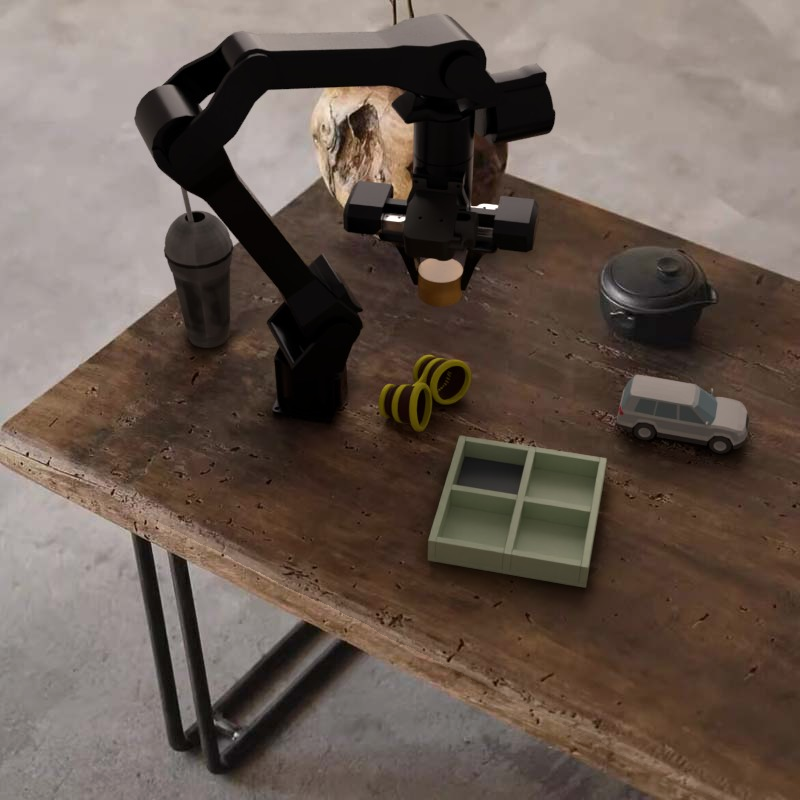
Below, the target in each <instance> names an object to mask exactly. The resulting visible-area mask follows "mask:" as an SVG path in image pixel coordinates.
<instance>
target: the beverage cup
mask: <svg viewBox="0 0 800 800" xmlns="http://www.w3.org/2000/svg"><path fill="white" fill-rule="evenodd" d="M180 190H181V194H182V199H183V204H184V207H185V212H184V213H182V214H180V215H179V216H177V217H176V218H175V219H174V220H173V221H172V222H171V224H170V225H169V228H168V230H167V232H166V235H165V237H164V249H163V253H164V254H163V255H164V257H165V259H166V261H167V262H166V263H167V265H168V268H169V271H170V272H171V273H172V277H173V281H174V285H175V289H176V292H177V293H176V294H177V299H178V302H179V306H180V310H181V314H182V318H183V322H184V326H185V330H186V332H187V336H188V340H189V341H190V343H191V344H192V345H194V346H196V347H199V348H203V349H211V348H216V347H219V346H221V345H223V344H225V343H226V342H227V341H228V340H229V337H230V325H231V266H232V259H233V251H234V244H233V240H232V238H231V234H230V231H229V229H228V228H227V227H226V225H225V224H224V223H223V222H222V220H221V219H220V218H219V217H218V216H217V215H214V214H212V213H211V212H208V211H205V210H192V207H191V203H190V198H189V194H188V191H186V190H185V189H183V188H182V187H181V186H180Z"/></svg>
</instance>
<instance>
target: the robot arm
mask: <svg viewBox="0 0 800 800" xmlns="http://www.w3.org/2000/svg"><path fill="white" fill-rule="evenodd" d="M487 61H488V58H487V54H486V51H485V49H484V48H483V46H482V45H481V44H480V43H479V42H478V41H477V40H476V39H475V38H474V37H473V36H472V34H470V33H469V32H468V31H467V30H466V29H465V28H464V27H463V26H462V25H461V24H460V23H459V22H458V21H456V19H454V18H453V17H452V16H450V15H448V14H447V13H446V14H445V13H432V14H426V15H421V16H417V17H411V18H406V19H402V20H401V21H400V22H398V23H396V24H394V25H392V26H391V27H389V28H386V29H381V30H376V31H336V32H293V33H291V32H289V33H286V32H285V33H284V32H283V33H254V32H251V31H245V30H240V31H239V30H238V31H235V32H233V33H231V34H229V35H228V36H227V37H225V38H224V39H223V40H222V41H221V42H220V43H219V44H218V45H217V46H216V47H215V48H214V49H213V50H212V51H210V52H207V53H206V54H204V55H201V56H199V57H198V58H196V59H194V60H191V61H189V62H187V63H186V64H184V65H182V66H181V67H179V68H178V70H176V71H175V72H174V73H173V74H172V75H171V76H170V77H169V78H168V79H166V81H165V82H164V83H163V84H162V85H159V86H156V87H154V88H152V89H150V90H149V91H148V92H146V94H144V95H143V96H142V98H140V101H139V103H138V104H137V106H136V108H135V114H134V120H133V121H134V124H135V126H136V128H137V130H138V132H139V134H140V136H141V138H142V140H143V141H144V144H145V145H146V147H147V149H148V152H149V153H150V155H151V157H152V159H153V160H154V161H153V162H154V163H155V165H156V166H157V168H158V169H159V170H160V171H161V172H163V174H165V176H167V177H168V178H169V179H171V180H172V181H174V183H176V184H177V185H178V186H180V188H181V187H182V188H183V189H185V190H186V191H187V193H189V194H192V195H194V196H195V197H197V198H199V199H201V200H203V201H204V202H205V203H206V204H207V205H208V206H209V207H210V208H211V210H212V211H213V212H214V214H215V215H216V217H217V218H219V219H220V220H221V222H222V223H223V224H224V225H225V226H226V228H227V230H228V231H229V232H230V233H231V234H232V235H233V236H234V238H235V239H236V240H237V241H238V243H240V245H241V246H242V247H243V248H244V250H245V251H246V252H247V253H248V254H249V256H250V257H251V258H252V259H253V260H254V262H255V263H256V264H257V265H258V267H259V268H260V269H261V270H262V271H263V273H264V274H265V275H266V276H267V277H268V278H269V280H270V281H271V282H272V283H273V285H274V286H275V287H276V288H277V290H278V291H279V294H280V296H281V298H282V300H283V302H282V303H281V304H280V305H279V306H278V308H277V309H276V310H275V311H274V312H273V313H272V315H270V317H269V318H268V319H267V320H266V325H267V327H268V329H269V330H270V332H271V334H272V336H273V338H274V340H275V341H276V343H277V345H278V349H277V350H276V353H275V354H274V356H273V364H274V376H275V388H276V399H275V401H274V403H273V405H272V407H271V411H272V414H273V415H277V416H283V417H289V418H296V419H302V420H308V421H313V422H321V423H327V424H329V423H333V421H334V420H335V417H336V415H337V413H338V410H339V409H341V407H343V404H344V403H345V399H346V398H347V395H348V391H349V390H348V389H349V388H348V365H347V362H348V359H349V357H350V354H351V351H352V348H353V346H354V344H355V342H356V341H357V340H358V338H359V336H360V335H361V331H362V330H363V328H364V326H363V325H364V323H363V321H362V318H361V317H360V315H359V314H360V313H362V312H363V311H364V309H363V307H362V305H361V304H360V302H359V301H358V299H357V298H356V296H355V295H354V293H353V292H352V290H351V289H350V287H349V285H348V284H347V282H346V281H345V278H343V276H342V275H341V274H340V272H337V271H336V270H335V269H334V268H333V266H332V264H331V262H330V261H329V260H328V259H327V257H326V255H325V253H323V252H322V253H320V254H319V255H318V256H317V257H316V258H315V259H314V260H311V259H308V258H306V257H305V256H303V255H302V253H301V252H300V251H299V250H298V248H296V246H295V244H294V243H293V242H292V241H291V240H290V238H289V237H288V235H286V233H285V232H284V231H283V230H282V228H281V227H280V225H279V224H278V223H277V221H275V219H274V218H273V217H272V215H271V214H270V213H269V212H268V210H267V209H266V208H265V207H264V205H263V204H262V203H261V201H260V200H259V199H258V198H257V196H256V195H255V194H254V192H253V191H252V190H251V189H250V187H249V186H248V184H247V183H246V182H245V181H244V180H243V178H242V177H241V176H240V174H239V173H238V172H237V170H235V168H234V166H233V164H232V161H231V159H230V157H229V155H228V153H227V151H226V149H225V146H226V145H227V144H228V143H229V142H230V141H231V140H233V138H235V136H236V135H237V134H238V132H239V130H240V129H241V128H242V125H243V124H244V122H245V120H246V118H247V117H248V116H249V113H250V112H251V110H252V108H253V107H254V105H255V104H256V102H257V101H258V100H259V99H261V98H262V96H264V95H265V94H266V93H267V92H268V91H279V90H280V91H283V90H304V89H306V90H308V89H309V90H311V89H333V88H334V89H335V88H336V89H337V88H359V87H360V88H361V87H363V88H364V87H383V86H384V87H391V88H397V89H400V90H402V91H404V92H403V93H402V94H400V95H398V96H397V97H396V98H395V99H394V100H393V101H392V102H391V108H392V109H393V110H394V112H395V113H396V114H397V115H398V116H399V117H400V119H401V120H402V121H403V122H404V123H405V124H406V125H411V124H413V136H412V137H413V139H412V142H413V143H412V145H413V147H412V148H413V149H412V150H413V152H412V154H413V156H412V180H411V188H410V191H409V192H408V196H407V198H406V199H401V198H400V199H399V198H394V196H395V195H394V194H395V189H394V188H395V187H394V185H393V184H392V183H385V182H378V181H377V182H375V181H366V180H358V181H357V182H356V183H355V184H354V185H352V188H351V190H350V193H349V195H348V196H347V197H348V198H347V200H346V202H345V204H344V207H343V213H342V219H343V220H342V221H343V222H342V223H343V230H345V231H346V232H347V233H348V234H349V233H350V234H360V235H368V236H374V235H375V234H377V233H378V232H379V233H378V239H379V240H380V241H381V242H383V243H384V242H385V243H389V244H391V245H393V246H394V247H395V248H396V250H397V251H398V253H399V254H400V256H401V258H402V260H403V263H404V265H405V269H406V270H407V272H408V274H409V277H410V279H411V282H412V284H413V286H418V267H419V265H420V264H421V259H423V258H424V259H429V258H430V259H437V260H438V261H448V260H451V259H453V258H454V257H455V255H456V252H462V253H463V252H464V251H465V248H466V254H465V259H464V264H463V274H462V279H461V291H462V292H466V290H467V287H468V285H469V283H470V281H471V278H472V276H473V274H474V271H475V270H476V267H477V265H478V264H479V262H480V261H481V259H482V258H483V256H485V255H487V254H490V255H491V254H492V255H493V254H495V253H497V251H499V250H500V251H501V250H502V251H509V252H517V253H518V252H519V253H528V252H531V251H533V250H534V245H535V240H536V235H537V232H538V226H539V222H540V213H541V212H540V210H541V207H540V205H539V204H538V202H537V200H536V199H534V198H525V197H515V196H508V195H507V196H506V195H500V197H499V201H498V204H490V203H480V204H478V205H476V206H474V205H472V199H473V197H472V196H473V175H474V152H475V147H474V146H475V134H477V135H478V136H479V137H480V138H485V140H486V141H487V142H488V144H490V145H491V146H497V145H503V144H507V143H512V142H516V141H517V142H518V141H522V140H527V139H531V138H536V137H540V136H545V135H548V134H550V133H551V132H552V131H553V129H554V127H555V123H556V110H555V109H554V103H553V97H552V94H551V91H550V88H549V86H548V84H547V77H548V73H547V72H546V71H545V70H544V69H543V68H542V67H541V66H540V65H539V64H538V63H530V64H527V65H523V66H521V67H519V68H515V69H510V70H505V71H500V72H493V73H491V72H490V71H489V70H488V69H487ZM210 95H212V97H210V100H209V101H208V103H207V105H206V106H205V108H204V109H203V107H201V104H202V102H204V100H206V99H207V98H208V97H209V96H210Z"/></svg>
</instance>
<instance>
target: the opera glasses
mask: <svg viewBox="0 0 800 800" xmlns="http://www.w3.org/2000/svg"><path fill="white" fill-rule="evenodd" d="M467 364H468V363H466V362H465V361H462V360H460V359H455V358H454V359H448V358H442V357H436V356H434V355H432V354H425V355H423V356H421V357H420V358H419V359H418V360H417V361H416V363H415V364H414V366H413V370H412V378H413V381H414V383H413V384H411V383H408V384H401V385H399V384H397V385H396V384H393V383H387V384H386V385H385V386H384V387H383V388H382V390H381V391H380V392H381V393H380V395H379V398H378V411H379V414H380V415H381V416H382V417H383V418H387V419H392V420H394V421H396V422H397V423H400V424H402V425H405V424H407V425H410V426H411V427H412V429H413V431H415V432H419V433H420V432H424V430H425V429H426V428H427V426H428V424H429V421H430V419H431V415H432V409H433V400H434V401H435V402H437V403H438V404H440V405H446V406H447V405H452V404H455V403H456V402H458V401H459V400H461V399H462V398H463V397H464V396H465V395H466V394H467V392H468V390H469V389H470V385H471V383H472V371H471V369H470V367H469V366H468V365H467Z"/></svg>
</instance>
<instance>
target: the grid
mask: <svg viewBox="0 0 800 800" xmlns="http://www.w3.org/2000/svg"><path fill="white" fill-rule="evenodd" d="M607 463H608V458H607V457H600V456H595V455H588V454H582V453H576V452H569V451H563V450H557V449H549V448H543V447H536V446H531V445H529V446H528V445H524V444H517V443H512V442H511V443H510V442H505V441H497V440H492V439H485V438H478V437H474V436H466V435H459V436H458V439H457V443H456V446H455V449H454V453H453V456H452V460H451V462H450V466H449V469H448V473H447V475H446V479H445V483H444V486H443V489H442V493H441V496H440V500H439V502H438V506H437V509H436V513H435V516H434V519H433V522H432V526H431V529H430V532H429V533H430V534H429V536H428V539H427V561H428V562H434V563H439V564H445V565H452V566H457V567H464V568H469V569H475V570H479V571H480V570H481V571H486V572H492V573H496V574H503V575H510V576H514V577H521V578H527V579H533V580H539V581H544V582H548V583H549V582H550V583H555V584H559V585H560V584H561V585H566V586H571V587H572V586H573V587H579V588H584V589H586V588H587V584H588V578H589V572H590V566H591V559H592V554H593V548H594V542H595V537H596V532H597V524H598V519H599V513H600V507H601V500H602V495H603V491H604V485H605V484H604V483H605V477H606V471H607Z"/></svg>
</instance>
